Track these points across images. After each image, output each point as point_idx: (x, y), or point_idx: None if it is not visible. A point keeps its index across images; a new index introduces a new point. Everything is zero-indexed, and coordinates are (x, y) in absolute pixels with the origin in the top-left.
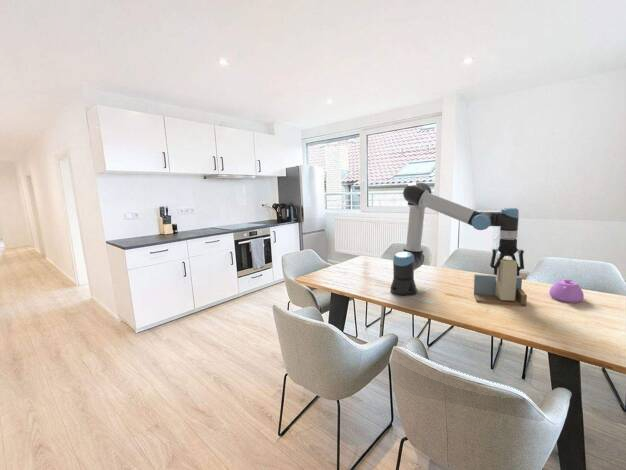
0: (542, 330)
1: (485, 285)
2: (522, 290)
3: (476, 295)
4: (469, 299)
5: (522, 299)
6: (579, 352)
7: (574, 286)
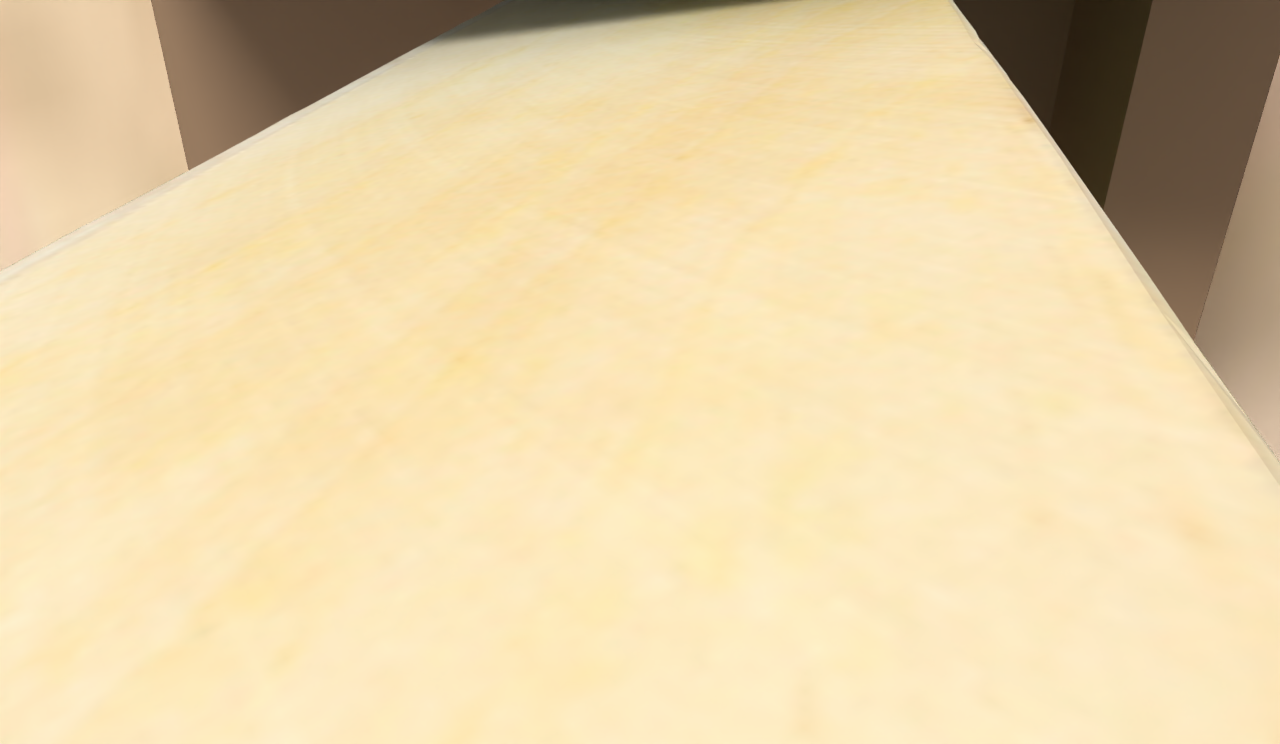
0: None
1: None
2: (1257, 92)
3: (184, 6)
4: (109, 150)
5: None
6: None
7: None
